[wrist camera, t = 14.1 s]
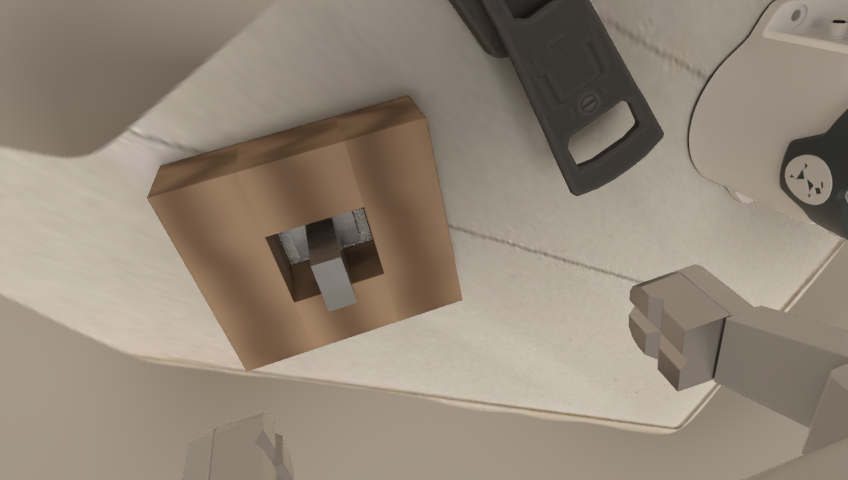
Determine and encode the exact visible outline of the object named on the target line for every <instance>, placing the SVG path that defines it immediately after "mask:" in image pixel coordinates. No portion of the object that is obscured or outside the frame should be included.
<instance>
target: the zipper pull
mask: <svg viewBox="0 0 848 480" xmlns="http://www.w3.org/2000/svg"><path fill="white" fill-rule="evenodd" d="M449 1H450V2H451V4H452V5H453V6H454V8H455V9H456V11H457V12H458V14H459V15H460V16H461V18H462V19H463V21H464V22H465V24H466V25H467V27H468V28H469V29H470V31H471V32H472V34H473V35H474V37H475V38H476V39H477V41H478V42H479V44H480V45H481V46H482V48H483V49H484V50H485V51H486V52H487V53H489V54H490V55H492V56H494V57H495V58H505V57H510V60H511V62H512V64H513V66H514V68H515V71H516V73H517V75H518V77H519V79H520V82H521V84H522V86H523V88H524V90H525V93H526V95H527V97H528V99H529V101H530V104H531V106H532V108H533V110H534V112H535V115H536V117H537V119H538V121H539V123H540V126H541V128H542V130H543V132H544V134H545V137H546V139H547V141H548V143H549V146H550V148H551V151H552V153H553V155H554V158H555V160H556V162H557V164H558V166H559V168H560V171H561V173H562V175H563V177H564V179H565V181H566V184H567V186H568V188H569V190H570V192H571V193H572V194H573V195H576V196H579V195H582V194H585V193H587V192H590V191H592V190H595V189H598V188H600V187H601V186H603V185H605V184H607V183H608V182H610V181H612V180H614V179H615V178H617V177H618V176H620V175H621V174H623V173H624V172H626V171H627V170H628V169H630V168H631V167H633V166H634V165H635V164H636V163H637V162H639V161H640V160H641V159H642V158H644V157H645V156H646V155H647V154H648V153H649V152H650V151H651V150H652V149H653V148H654V146H655V145H656V144H657V143H658V142H659V141H660V140H661V139H662V138H663V135H664V133H663V131H662V129H661V127H660V125H659V123H658V122H657V120H656V118H655V116H654V114H653V113H652V111H651V109H650V107H649V105H648V103H647V102H646V100H645V98H644V96H643V94H642V93H641V91H640V90H639V88H638V86H637V85H636V83H635V81H634V79H633V78H632V76H631V74H630V72H629V70H628V69H627V67H626V65H625V63H624V61H623V60H622V58H621V56H620V54H619V52H618V51H617V49H616V47H615V45H614V43H613V42H612V40H611V38H610V36H609V34H608V33H607V31H606V29H605V27H604V26H603V24H602V22H601V20H600V18H599V17H598V15H597V13H596V11H595V9H594V8H593V6H592V4H591V2H590V0H449ZM622 100H623V101H626V102H627V104H628V106H629V108H630V110H631V112H632V115H633V117H634V119H635V124H634V126H633V127H632V128H631V129H630V130H629V131H628V132H627V133H626V134H625V135H624V136H623V137H622V138H621V139H619V140H618V141H616V142H615V143H613V144H612V145H611V146H609V147H608V148H606V149H605V150H603V151H602V152H600V153H599V154H598V155H596V156H595V157H593V158H592V159H590V160H587V161H585V162H582V163H580V164H576V163H575V161H574V159H573V157H572V155H571V153H570V152H569V150H568V141H569V137H571V136H572V135H574V134H575V133H576V132H578V131H579V130H581V129H582V128H584V127H585V126H586V125H588V124H589V123H591V122H592V121H593V120H595V119H596V118H598V117H599V116H601V115H602V114H603V113H605V112H606V111H608V110H609V109H610V108H612V107H613V106H615V105H616V104H618V103H619V102H620V101H622Z"/></svg>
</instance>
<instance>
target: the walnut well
mask: <svg viewBox="0 0 848 480" xmlns="http://www.w3.org/2000/svg"><path fill="white" fill-rule="evenodd" d="M147 199H148V201H149V202H150V204H151V206H152V208H153V209H154V211H155V213H156V215H157V216H158V218H159V220H160V221H161V223H162V225H163V227H164V228H165V230H166V232H167V234H168V235H169V237H170V239H171V241H172V242H173V244H174V246H175V248H176V249H177V251H178V253H179V255H180V256H181V258H182V260H183V261H184V263H185V265H186V267H187V268H188V270H189V272H190V274H191V275H192V277H193V279H194V281H195V282H196V284H197V286H198V288H199V289H200V291H201V293H202V294H203V296H204V298H205V300H206V301H207V303H208V305H209V307H210V308H211V310H212V312H213V314H214V315H215V317H216V319H217V321H218V322H219V324H220V326H221V327H222V329H223V331H224V333H225V334H226V336H227V338H228V340H229V341H230V343H231V345H232V347H233V348H234V350H235V352H236V354H237V355H238V357H239V359H240V361H241V362H242V364H243V366H244V367H245V369H246V371H250V370H253V369H256V368H259V367H262V366H265V365H268V364H271V363H274V362H277V361H280V360H283V359H286V358H289V357H292V356H295V355H298V354H301V353H304V352H307V351H310V350H313V349H316V348H319V347H322V346H325V345H328V344H331V343H334V342H337V341H340V340H343V339H346V338H349V337H352V336H355V335H358V334H361V333H364V332H367V331H370V330H373V329H376V328H379V327H382V326H386V325H389V324H392V323H395V322H398V321H401V320H404V319H407V318H410V317H413V316H416V315H419V314H422V313H425V312H428V311H431V310H434V309H437V308H440V307H443V306H446V305H449V304H452V303H455V302H458V301H461V300H462V296H461V291H460V286H459V281H458V276H457V271H456V266H455V261H454V256H453V251H452V246H451V241H450V236H449V231H448V226H447V221H446V216H445V211H444V206H443V201H442V196H441V191H440V186H439V181H438V176H437V171H436V166H435V161H434V156H433V151H432V146H431V141H430V136H429V131H428V126H427V121H426V117H425V116H424V115H423V113H422V112H421V111H420V110H419V109H418V107H417V106H416V105H415V104H414V102H413V101H412V100H411V99H410V97H409V96H406V97H402V98H398V99H395V100H391V101H388V102H384V103H381V104H377V105H374V106H370V107H367V108H363V109H360V110H356V111H353V112H349V113H345V114H342V115H338V116H335V117H331V118H328V119H324V120H321V121H317V122H314V123H310V124H307V125H303V126H299V127H296V128H292V129H289V130H285V131H282V132H278V133H275V134H271V135H268V136H264V137H261V138H257V139H254V140H250V141H246V142H243V143H239V144H236V145H232V146H229V147H225V148H222V149H218V150H215V151H211V152H208V153H204V154H201V155H197V156H193V157H190V158H186V159H183V160H179V161H176V162H172V163H169V164H165V165H162V166H160V168H159V170H158V173H157V175H156V177H155V180H154V182H153V185H152V187H151V190H150V192H149V195H148V197H147ZM360 208H363V210H364V213H365V216H366V219H367V223H368V226H369V229H370V233H371V236H372V239H373V240H371V241H368V242H365V243H361V244H358V245H355V246H352V247H349V248H345V249H344V251H345V256H346V260H347V264H348V268H349V272H350V276H351V280H352V284H353V288H354V292H355V296H356V300H357V303H355V304H352V305H349V306H346V307H342V308H339V309H336V310H333V311H330V312H329V311H328V308H327V306H326V303H325V301H324V298H323V296H322V293H321V291H320V288H319V286H318V283H317V281H316V278H315V276H314V273H313V271H312V268H311V265H310V260H307V261H304V262H301V263H297V264H294V265H291V264H290V262H289V260H288V257H287V255H286V253H285V250H284V248H283V246H282V243H281V241H280V239H279V236H278V233H281V232H284V231H287V230H291V229H294V228H297V227H301V226H304V225H307V224H310V223H314V222H317V221H320V220H324V219H327V218H330V217H333V216H337V215H340V214H343V213H346V212H350V211H353V210H356V209H360Z"/></svg>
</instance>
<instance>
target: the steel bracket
mask: <svg viewBox="0 0 848 480" xmlns="http://www.w3.org/2000/svg"><path fill="white" fill-rule="evenodd" d="M289 231H290V234H291V236H292V239H293V241H294V244H295V246H296V248H297V251H298V253H299V256H300V258H301V259H302V258H306V257H309V258H310V265H311V268H312V271H313V273H314V276H315V278H316V281H317V283H318V286H319V288H320V291H321V293H322V296H323V298H324V301H325V303H326V306H327V308H328V311H329V312H330V311H333V310H336V309H339V308H342V307H346V306H349V305H352V304H355V303H357V300H356V296H355V292H354V288H353V284H352V280H351V276H350V272H349V268H348V264H347V260H346V256H345V251H344V247H343V246H344V245H348V244H351V243H354V242H357V241H361V239H360V235H359V232H358V229H357V226H356V223H355V220H354V216H353V213H352V211H350V212H346V213H343V214H340V215H337V216H333V217H330V218H327V219H324V220H320V221H317V222H314V223H310V224H307V225H304V226H301V227H297V228H294V229H291V230H289Z"/></svg>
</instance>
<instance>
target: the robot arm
mask: <svg viewBox="0 0 848 480" xmlns="http://www.w3.org/2000/svg"><path fill="white" fill-rule="evenodd" d="M792 14H793V15H792ZM689 149H690V154H691V158H692V161H693V163H694V165H695V167H696V169H697V170H698V171H699V173H701V174H702V175H703V176H704V177H705V178H707V179H708V180H711V181H713V182H716V183H719V184H721V185H724V186H725V187H726V188H727V190H728V191H729V193H730V194H731V196H732V197H733V198H734V199H736V200H738V201H740V202H742V203H745V204H748V203H751V202H754V201H757V202H759V203H761V204H763V205H766V206H768V207H770V208H772V209H775V210H777V211H779V212H781V213H784V214H786V215H788V216H791V217H793V218H795V219H797V220H800V221H802V222H805V223H808V224H818V225H820V226H822V227H823V228H825V229H827V230H829V232H830V233H831V234H833V235H835V236H837V237H839V238H841V239H846V240H848V0H776V1H774V2H773V3H772V4H771V5H770V6H769V7H768V8H767V10H766V11H765V12H764V14H763V15H762V17H761V18H760V20H759V22H758V23H757V25H756V26H755V28H754V30H753V31H752V33H751V35H750V36H749V37H748V38H747V40H746V41H745V42H744V43H743V44H742V45H741V46H740V47H739V48H738V49H737V50H736V51H735V52H734V53H732V54H731V55H730V56H729V57H728V58H727V60H726V61H725V62H724V63H723V64H722V65H721V66H720V67H719V69H718V70H717V71H716V72H715V74H714V75H713V77H712V78H711V79H710V81H709V83H708V84H707V86H706V88H705V89H704V91H703V93H702V95H701V97H700V99H699V101H698V103H697V106H696V108H695V111H694V114H693V118H692V122H691V126H690V133H689ZM630 301H631V302H632V303H633V304H634V305H635V307H634V308H633V310H632V311H631V313H630V314H629V328H630V331H631V334H632V337H633V339H634V341H635V342H636V344H637V346H638V347H639V348H640V349H641V350H642V352H643V353H644V354H645V355H648V356H650V357H653V358H655V359H658V370H659V371H660V372H661V373H662V374H663V376H664V377H665V378H666V379H667V380H668V381H669V382H670V383H671V385H672V386H673V387H674V388H675V389H676V390H677V391H681V390H684V389H687V388H690V387H693V386H695V385H698V384H701V383H704V382H707V381H710V380H713V379H714V382H716V383H718V384H721V385H723V386H725V387H727V388H729V389H731V390H733V391H735V392H737V393H739V394H741V395H743V396H745V397H747V398H749V399H751V400H753V401H755V402H758V403H759V404H761V405H763V406H765V407H767V408H769V409H771V410H774V411H776V412H778V413H780V414H782V415H784V416H786V417H788V418H790V419H792V420H794V421H796V422H798V423H800V424H802V425H804V426H806V427H808V428H809V430H808V433H807V436H806V438H805V441H804V444H803V449H802V453H803V456H800V457H798V458H795V459H793V460H790V461H788V462H785V463H783V464H780V465H778V466H775V467H773V468H770V469H768V470H765V471H763V472H760V473H757V474H755V475H752V476H750V477H747V478H745V479H742V480H848V330H845V329H842V328H838V327H835V326H831V325H828V324H824V323H821V322H817V321H814V320H810V319H807V318H803V317H799V316H796V315H792V314H789V313H785V312H782V311H778V310H775V309H771V308H768V307H764V306H758V307H755V308H754V307H753V306H752V305H751V304H749V303H748V302H747V301H746V300H744V299H743V298H742V297H740V296H739V295H738V294H737V293H735V292H734V291H733V290H731V289H730V288H729V287H728V286H726V285H725V284H724V283H723V282H721V281H720V280H719V279H717V278H716V277H715V276H714V275H712V274H711V273H710V272H708V271H707V270H706V269H705V268H703V267H702V266H699V265H696V264H695V265H692V266H689V267H686V268H683V269H680V270H678V271H675V272H673V273H669V274H666V275H663V276H660V277H657V278H655V279H652V280H649V281H646V282H643V283H640V284H638V285H635V286H633V287H632V289H631V291H630ZM182 480H294V474H293V465H292V460H291V455H290V452H289V449H288V447H287V444H286V442H285V440H284V438H283V436H281V435H279V434H276V433H275V423H274V421H273V419H272V418H271V416H270V414H269V413H262V414H259V415H256V416H253V417H249V418H246V419H243V420H240V421H237V422H234V423H230V424H227V425H224V426H221V427H218V428H216V429H213V430H210V431H206V432H203V433H200V434H197V435H194V436H192V437H191V439H190V441H189V443H188V445H187V452H186V459H185V465H184V472H183V479H182Z"/></svg>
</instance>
